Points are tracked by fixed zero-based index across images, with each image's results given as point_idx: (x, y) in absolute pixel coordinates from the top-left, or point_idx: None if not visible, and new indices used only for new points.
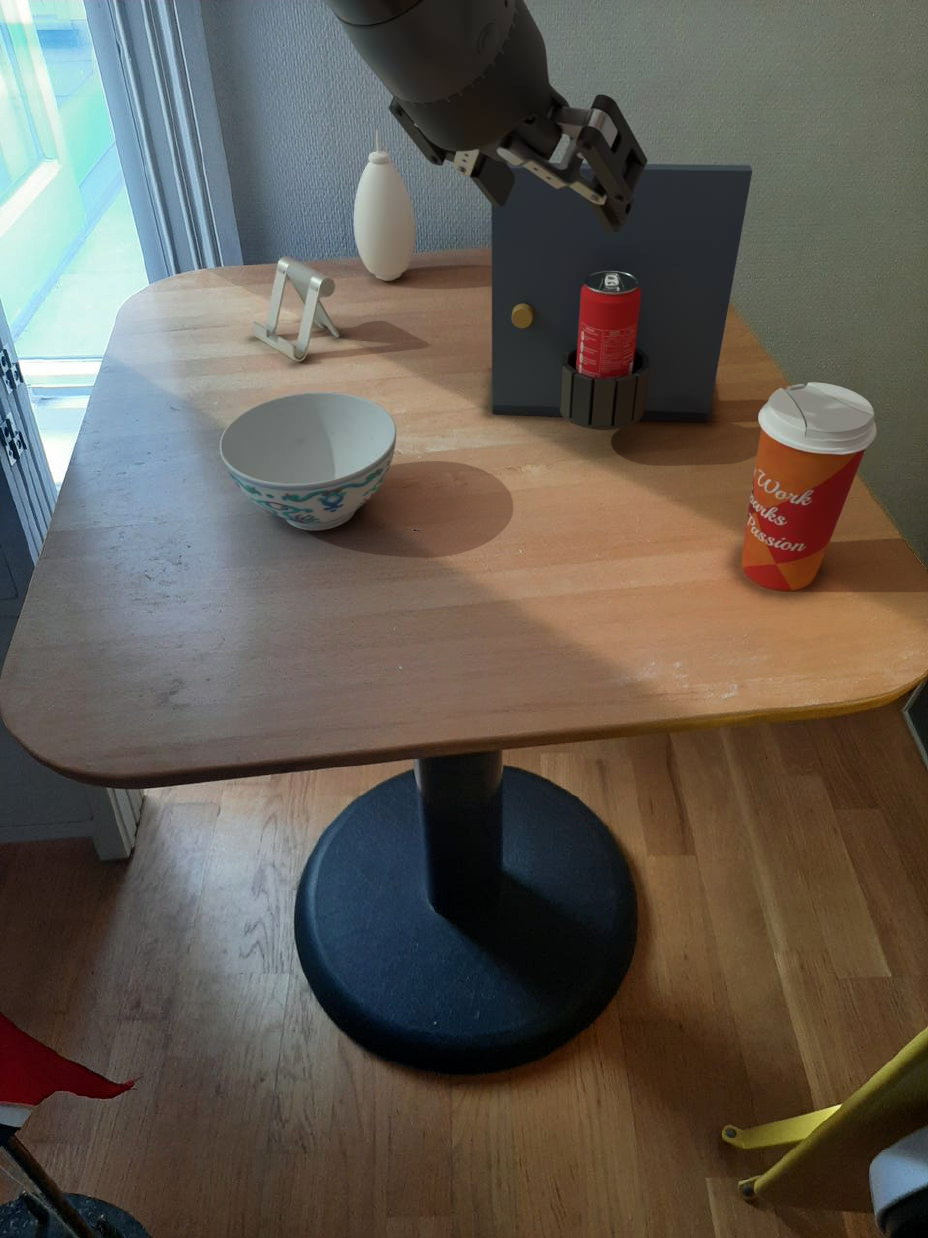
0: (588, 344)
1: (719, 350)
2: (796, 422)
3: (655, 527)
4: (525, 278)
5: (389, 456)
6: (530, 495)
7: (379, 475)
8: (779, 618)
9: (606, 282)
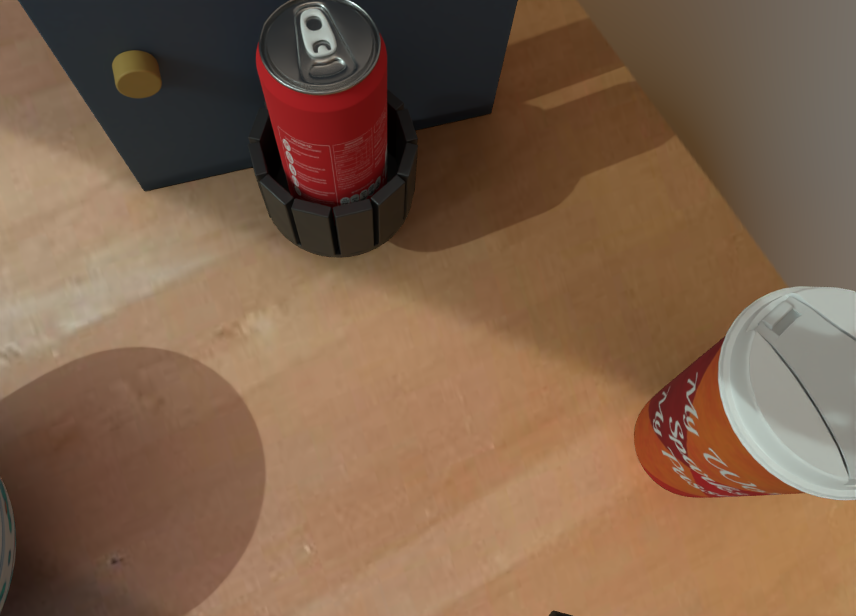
0: (304, 161)
1: (509, 30)
2: (825, 460)
3: (492, 407)
4: (113, 12)
5: (5, 556)
6: (277, 394)
7: (4, 593)
8: (719, 559)
9: (309, 48)
